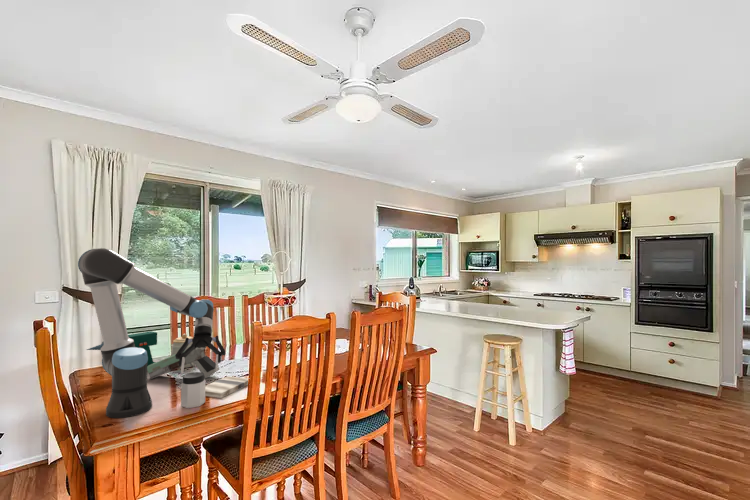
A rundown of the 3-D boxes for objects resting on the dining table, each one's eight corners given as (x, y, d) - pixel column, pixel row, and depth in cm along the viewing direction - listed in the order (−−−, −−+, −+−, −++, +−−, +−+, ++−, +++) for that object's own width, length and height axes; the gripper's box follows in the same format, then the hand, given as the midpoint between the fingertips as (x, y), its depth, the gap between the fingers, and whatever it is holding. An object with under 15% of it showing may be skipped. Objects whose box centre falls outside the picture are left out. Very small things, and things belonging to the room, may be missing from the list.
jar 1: (172, 363, 212) (173, 332, 212) (197, 361, 216) (198, 330, 217) (168, 369, 200) (169, 336, 200) (195, 367, 204) (195, 335, 204)
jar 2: (209, 403, 153) (209, 373, 154) (190, 409, 146) (190, 379, 147) (196, 398, 158) (196, 370, 158) (177, 405, 151) (177, 375, 151)
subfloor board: (220, 398, 159) (220, 393, 159) (195, 394, 163) (195, 389, 163) (250, 383, 178) (250, 379, 178) (227, 380, 182) (227, 376, 182)
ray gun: (215, 374, 183) (200, 336, 183) (155, 398, 183) (141, 361, 184) (221, 370, 190) (207, 333, 191) (164, 393, 190) (150, 357, 191)
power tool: (88, 386, 173) (89, 343, 174) (81, 384, 177) (82, 342, 177) (158, 369, 200) (158, 332, 201) (151, 367, 204) (151, 331, 204)
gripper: (231, 331, 181) (230, 372, 167) (174, 335, 172) (168, 378, 158) (231, 323, 176) (230, 363, 162) (172, 326, 167) (165, 369, 153)
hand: (199, 370), depth 160 cm, fingers open, 13 cm apart
